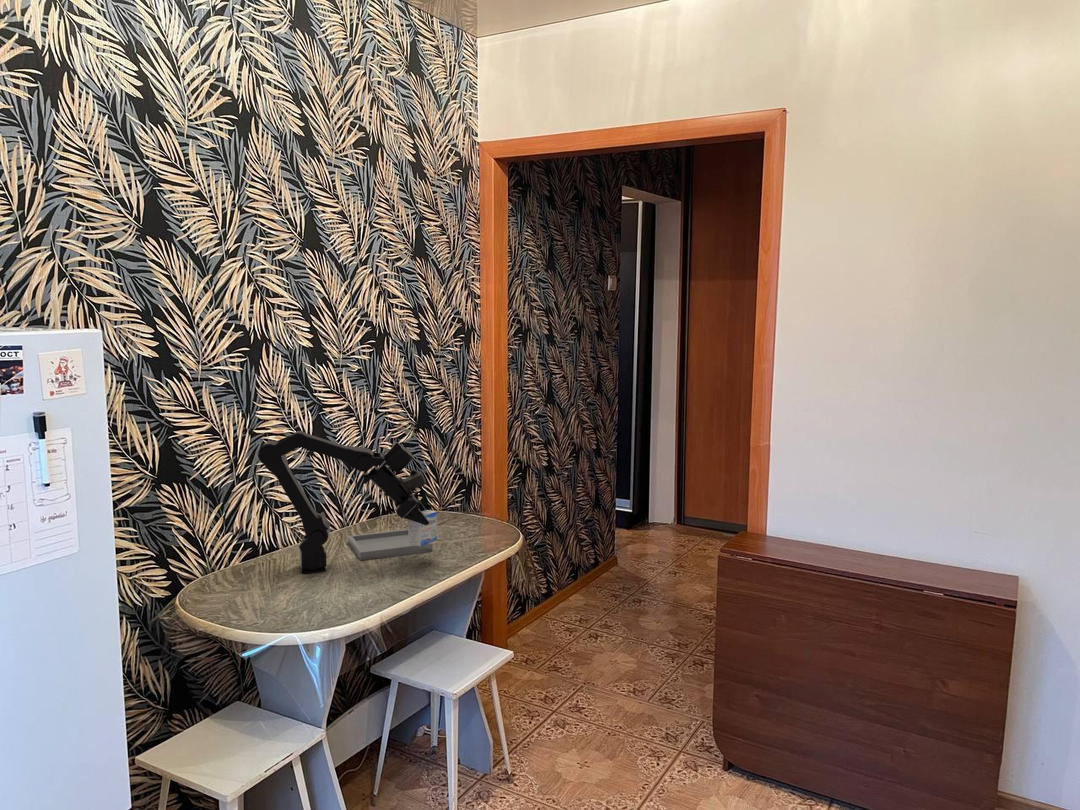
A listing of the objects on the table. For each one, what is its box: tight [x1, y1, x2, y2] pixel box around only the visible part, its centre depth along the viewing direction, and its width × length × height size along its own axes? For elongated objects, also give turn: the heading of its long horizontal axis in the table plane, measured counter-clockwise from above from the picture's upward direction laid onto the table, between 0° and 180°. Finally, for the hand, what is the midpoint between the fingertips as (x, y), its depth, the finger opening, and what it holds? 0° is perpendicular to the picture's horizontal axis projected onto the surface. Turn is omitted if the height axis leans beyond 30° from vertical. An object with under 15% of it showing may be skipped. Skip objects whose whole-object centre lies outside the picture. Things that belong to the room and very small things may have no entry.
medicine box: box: [407, 509, 438, 547], centre depth 217 cm, size 8×4×9 cm, turn 150°
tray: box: [347, 528, 433, 561], centre depth 234 cm, size 22×18×2 cm
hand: (427, 519), depth 217 cm, fingers closed on medicine box, 8 cm apart
